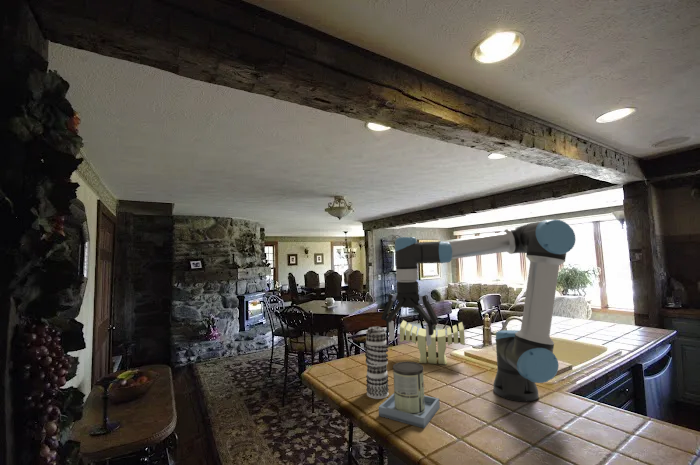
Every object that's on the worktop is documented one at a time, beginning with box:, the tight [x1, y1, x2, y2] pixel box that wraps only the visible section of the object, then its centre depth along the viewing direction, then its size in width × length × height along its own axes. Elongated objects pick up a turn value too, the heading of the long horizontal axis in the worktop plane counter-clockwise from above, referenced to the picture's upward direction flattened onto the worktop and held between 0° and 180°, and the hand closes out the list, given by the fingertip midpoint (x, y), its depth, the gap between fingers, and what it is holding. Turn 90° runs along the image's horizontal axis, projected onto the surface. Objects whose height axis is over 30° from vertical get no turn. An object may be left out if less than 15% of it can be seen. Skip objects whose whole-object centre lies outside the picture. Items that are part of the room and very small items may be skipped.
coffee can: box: [392, 361, 425, 415], centre depth 111 cm, size 10×10×14 cm
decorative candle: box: [364, 326, 390, 400], centre depth 126 cm, size 9×9×25 cm
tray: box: [378, 393, 441, 429], centre depth 110 cm, size 16×16×3 cm
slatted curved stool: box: [399, 319, 466, 365], centre depth 163 cm, size 30×16×18 cm, turn 74°
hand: (409, 342), depth 113 cm, fingers open, 13 cm apart
